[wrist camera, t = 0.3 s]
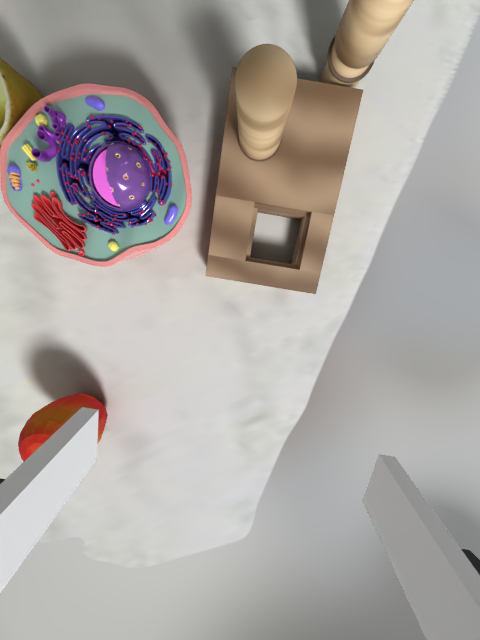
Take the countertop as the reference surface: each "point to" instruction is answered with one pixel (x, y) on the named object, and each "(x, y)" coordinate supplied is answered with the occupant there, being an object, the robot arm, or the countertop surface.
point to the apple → (56, 421)
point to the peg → (361, 39)
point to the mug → (14, 98)
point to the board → (279, 167)
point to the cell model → (96, 174)
